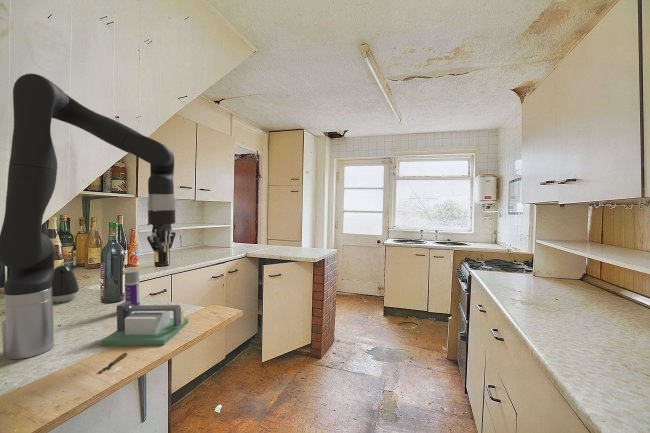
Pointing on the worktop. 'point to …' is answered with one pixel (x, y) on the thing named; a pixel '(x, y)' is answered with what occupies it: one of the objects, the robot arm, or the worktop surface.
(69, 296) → the black tall dome
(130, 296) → the container
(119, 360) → the can opener
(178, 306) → the strap
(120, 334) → the cpu board
